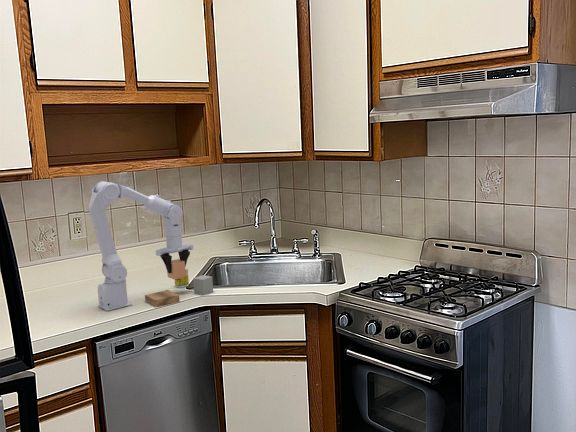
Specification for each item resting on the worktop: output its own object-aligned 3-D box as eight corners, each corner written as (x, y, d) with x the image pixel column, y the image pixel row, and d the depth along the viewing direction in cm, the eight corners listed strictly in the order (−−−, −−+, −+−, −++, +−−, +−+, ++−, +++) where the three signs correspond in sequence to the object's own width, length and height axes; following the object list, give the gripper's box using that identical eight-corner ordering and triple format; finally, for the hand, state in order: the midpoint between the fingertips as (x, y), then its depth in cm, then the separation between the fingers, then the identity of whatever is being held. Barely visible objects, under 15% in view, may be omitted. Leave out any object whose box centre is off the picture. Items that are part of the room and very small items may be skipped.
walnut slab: (156, 308, 202) (155, 300, 201) (145, 303, 209) (144, 295, 208) (179, 302, 207) (179, 294, 207) (168, 297, 214) (167, 289, 214)
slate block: (203, 295, 214) (202, 279, 213) (194, 293, 217) (193, 278, 216) (213, 292, 218) (212, 276, 217) (203, 290, 221) (202, 275, 220)
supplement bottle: (191, 285, 229) (190, 261, 228) (182, 288, 225) (180, 264, 223) (181, 283, 232) (180, 260, 231) (172, 286, 228) (170, 263, 226)
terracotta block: (174, 279, 214) (172, 263, 213) (167, 277, 218) (166, 261, 217) (186, 276, 217) (184, 261, 216) (179, 274, 221) (178, 259, 220)
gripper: (160, 240, 208) (163, 276, 210) (196, 234, 217) (198, 269, 219) (152, 237, 213) (154, 273, 215) (187, 232, 222) (189, 266, 224)
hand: (176, 271), depth 217 cm, fingers closed on terracotta block, 5 cm apart
